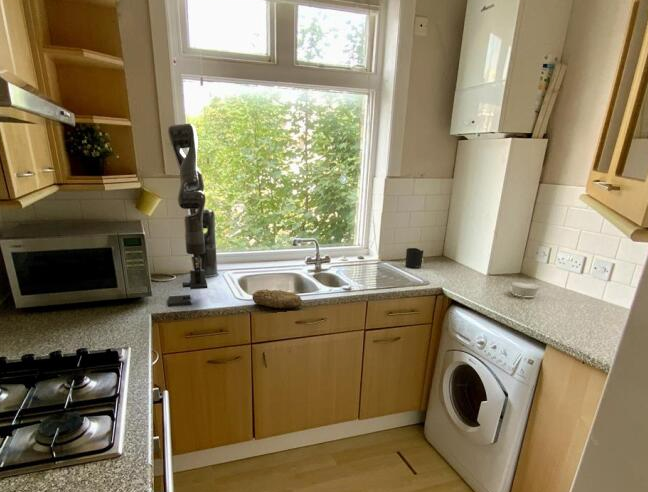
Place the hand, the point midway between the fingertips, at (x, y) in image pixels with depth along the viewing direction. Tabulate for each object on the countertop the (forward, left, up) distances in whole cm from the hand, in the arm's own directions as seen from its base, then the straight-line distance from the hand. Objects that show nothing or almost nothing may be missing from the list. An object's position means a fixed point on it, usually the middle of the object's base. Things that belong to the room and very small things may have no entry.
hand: (198, 282), depth 177 cm
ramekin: (+26, +145, -8) cm, 148 cm away
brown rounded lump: (+15, +31, -8) cm, 36 cm away
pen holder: (-33, +121, -8) cm, 126 cm away
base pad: (0, -9, -8) cm, 12 cm away
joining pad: (0, -1, -2) cm, 2 cm away
